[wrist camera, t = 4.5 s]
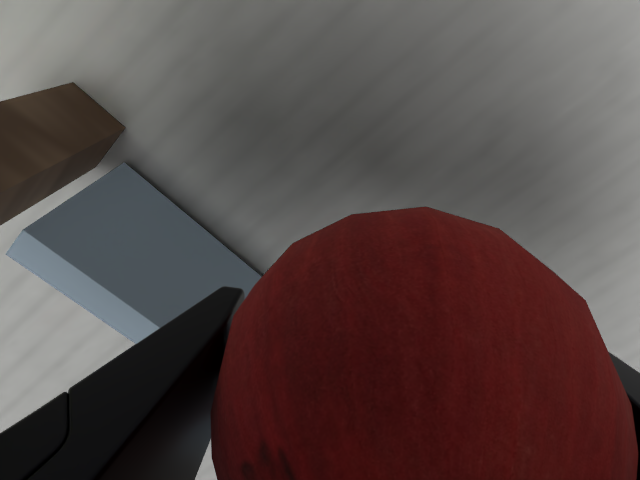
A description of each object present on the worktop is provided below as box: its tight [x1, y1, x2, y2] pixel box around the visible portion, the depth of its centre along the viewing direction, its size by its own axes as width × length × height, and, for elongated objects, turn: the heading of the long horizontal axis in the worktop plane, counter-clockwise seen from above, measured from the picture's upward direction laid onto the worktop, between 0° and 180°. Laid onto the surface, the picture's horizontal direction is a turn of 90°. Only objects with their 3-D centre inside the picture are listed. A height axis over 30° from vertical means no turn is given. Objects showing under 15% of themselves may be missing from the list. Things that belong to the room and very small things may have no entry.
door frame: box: [0, 82, 125, 225], centre depth 17 cm, size 24×3×7 cm, turn 45°
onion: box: [211, 207, 638, 480], centre depth 6 cm, size 6×6×8 cm
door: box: [6, 163, 261, 344], centre depth 17 cm, size 18×1×6 cm, turn 45°
